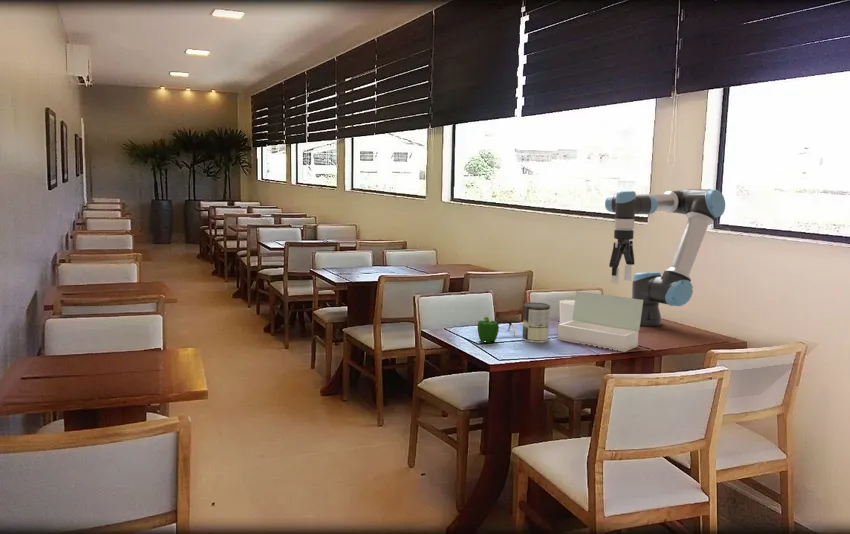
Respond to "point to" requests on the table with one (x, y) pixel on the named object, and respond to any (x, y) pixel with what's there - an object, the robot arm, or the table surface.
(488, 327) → the bell pepper
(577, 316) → the pale green rectangular panel
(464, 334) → the table surface
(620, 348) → the duct channel
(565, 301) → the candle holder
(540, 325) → the coffee can
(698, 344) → the table surface
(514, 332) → the eyeglasses
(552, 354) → the table surface
